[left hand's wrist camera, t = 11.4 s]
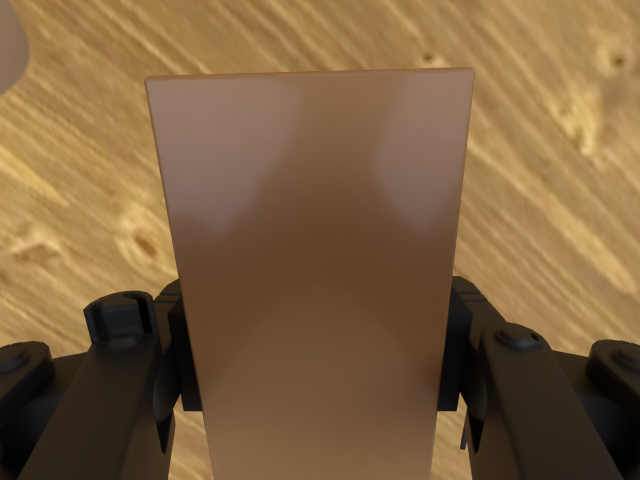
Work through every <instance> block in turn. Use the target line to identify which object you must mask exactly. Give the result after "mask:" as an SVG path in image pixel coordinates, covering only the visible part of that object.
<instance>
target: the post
mask: <svg viewBox="0 0 640 480" xmlns="http://www.w3.org/2000/svg"><path fill="white" fill-rule="evenodd" d="M474 77H475V71H474V69H473V68H471V67H457V68H421V69H385V70H349V71H313V72H276V73H240V74H204V75H168V76H148V77H146V78H145V80H144V83H145V89H146V94H147V100H148V106H149V111H150V117H151V123H152V128H153V134H154V140H155V145H156V151H157V157H158V162H159V168H160V174H161V180H162V185H163V191H164V197H165V202H166V208H167V214H168V219H169V225H170V231H171V236H172V242H173V248H174V253H175V259H176V265H177V270H178V276H179V282H180V287H181V293H182V299H183V304H184V310H185V316H186V322H187V327H188V333H189V339H190V344H191V350H192V356H193V361H194V367H195V373H196V378H197V384H198V390H199V395H200V401H201V407H202V412H203V418H204V424H205V429H206V435H207V441H208V446H209V452H210V458H211V463H212V469H213V475H214V480H430V473H431V464H432V455H433V446H434V437H435V428H436V419H437V410H438V401H439V392H440V383H441V374H442V365H443V356H444V347H445V338H446V329H447V320H448V311H449V302H450V293H451V284H452V275H453V266H454V257H455V248H456V239H457V230H458V221H459V212H460V203H461V194H462V185H463V176H464V167H465V158H466V149H467V140H468V131H469V122H470V113H471V104H472V95H473V86H474Z"/></svg>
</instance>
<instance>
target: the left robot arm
mask: <svg viewBox="0 0 640 480" xmlns="http://www.w3.org/2000/svg"><path fill="white" fill-rule="evenodd" d="M83 312H84V315H85V319H86V323H87V327H88V330H89V334H90V338H91V342H92V345H91V346H90V348H89V350H88V352H84V353H80V354H75V355H69V356H64V357H59V358H54V359H52V355H51V352H50V349H49V346H47V345H46V344H45V343H43V342H36V341H29V342H18V343H14V344H12V345H6V346H3V347H1V348H0V480H168V474H169V467H170V460H171V453H172V446H173V439H174V432H175V417H174V411H173V408H174V406H175V404H176V402H177V399H178V397H179V395H180V393H181V398H182V404H183V410H184V411H202V407H201V401H200V395H199V390H198V384H197V378H196V373H195V367H194V361H193V356H192V350H191V344H190V339H189V333H188V327H187V322H186V316H185V310H184V304H183V299H182V293H181V287H180V282H179V278H178V279H177V280H175V281H173V282H172V283H170V284H168V285H167V286H166V287H165V288H164V289H163V290H162V292H161V293H160V295H159V296H157V297H156V298H155V300H154V301H153V297H152V296H151V295H150V294H149V293H147V292H142V291H124V292H118V293H113V294H110V295H107V296H104V297H101V298H99V299H97V300H95V301H94V302H92V303H90V304H89V305H88V306H87V307H86V308H85V309H83ZM460 393H461V395H462V397H463V399H464V401H465V403H466V405H467V411H466V417H465V422H464V428H463V433H462V439H461V445H460V449H463V450H465V448H466V443H467V445H468V452H469V459H470V466H471V473H472V480H640V345H637V344H634V343H629V342H626V341H617V340H609V339H607V340H599V341H597V342H595V343H594V344H593V345H592V347H591V350H590V353H589V357H585V356H580V355H574V354H569V353H564V352H559V351H554V350H552V349H551V348H550V346H549V344H548V343H547V341H546V340H545V339H544V338H543V337H542V336H541V335H539V334H538V333H536V332H535V331H533V330H532V329H529V328H527V327H524V326H522V325H519V324H514V323H510V322H507V321H506V320H505V319H504V318H503V317H502V316H501V315H500V313H499V312H498V311H497V310H496V309H495V308H494V307H493V306H492V304H491V303H490V302H488V300H487V299H486V298H485V297H484V295H483V294H481V292H480V291H479V290H478V289H477V287H476V286H475V285H474V284H473V283H471V282H469V281H468V280H466V279H464V278H462V277H461V276H452V284H451V293H450V302H449V311H448V320H447V329H446V338H445V347H444V356H443V365H442V374H441V383H440V392H439V401H438V410H437V411H457V406H458V400H459V394H460Z"/></svg>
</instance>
